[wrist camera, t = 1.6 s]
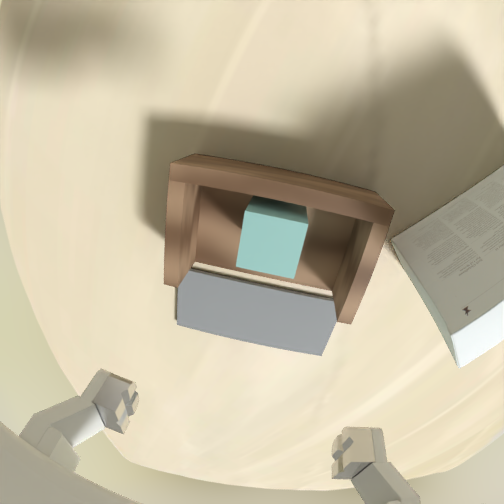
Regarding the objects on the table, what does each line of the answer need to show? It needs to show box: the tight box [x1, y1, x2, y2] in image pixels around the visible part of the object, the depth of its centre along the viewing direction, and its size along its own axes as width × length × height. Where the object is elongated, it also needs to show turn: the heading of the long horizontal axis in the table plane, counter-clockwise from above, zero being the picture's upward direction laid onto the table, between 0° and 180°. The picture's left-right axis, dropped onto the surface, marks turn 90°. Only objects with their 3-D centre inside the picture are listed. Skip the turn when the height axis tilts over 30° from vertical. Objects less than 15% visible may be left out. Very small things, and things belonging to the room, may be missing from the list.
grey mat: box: [177, 268, 337, 356], centre depth 36 cm, size 9×20×1 cm, turn 80°
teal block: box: [236, 195, 308, 279], centre depth 27 cm, size 5×5×7 cm
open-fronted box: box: [164, 154, 395, 324], centre depth 28 cm, size 12×19×6 cm, turn 80°
